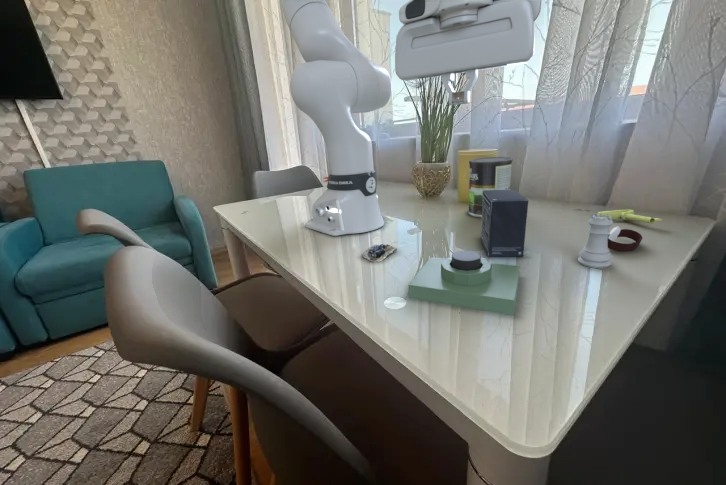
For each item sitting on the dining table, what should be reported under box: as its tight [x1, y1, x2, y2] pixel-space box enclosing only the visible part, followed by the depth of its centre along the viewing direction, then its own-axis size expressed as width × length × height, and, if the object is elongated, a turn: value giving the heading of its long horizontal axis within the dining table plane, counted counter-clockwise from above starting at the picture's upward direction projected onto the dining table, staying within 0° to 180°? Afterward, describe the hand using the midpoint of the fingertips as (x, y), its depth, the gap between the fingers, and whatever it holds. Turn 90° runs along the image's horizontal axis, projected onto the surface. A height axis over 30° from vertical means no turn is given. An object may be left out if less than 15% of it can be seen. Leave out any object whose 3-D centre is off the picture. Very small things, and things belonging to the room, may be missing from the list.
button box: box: [408, 256, 521, 316], centre depth 48 cm, size 14×11×4 cm
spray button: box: [451, 250, 482, 271], centre depth 47 cm, size 4×4×2 cm
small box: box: [480, 189, 529, 258], centre depth 61 cm, size 11×6×10 cm, turn 168°
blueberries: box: [362, 243, 398, 263], centre depth 64 cm, size 7×8×2 cm
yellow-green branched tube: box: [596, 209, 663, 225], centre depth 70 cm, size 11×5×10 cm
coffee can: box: [467, 156, 513, 219], centre depth 84 cm, size 10×10×14 cm
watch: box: [608, 226, 643, 252], centre depth 57 cm, size 8×5×4 cm, turn 118°
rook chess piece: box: [577, 213, 615, 269], centre depth 51 cm, size 4×4×8 cm
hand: (459, 104), depth 51 cm, fingers closed
